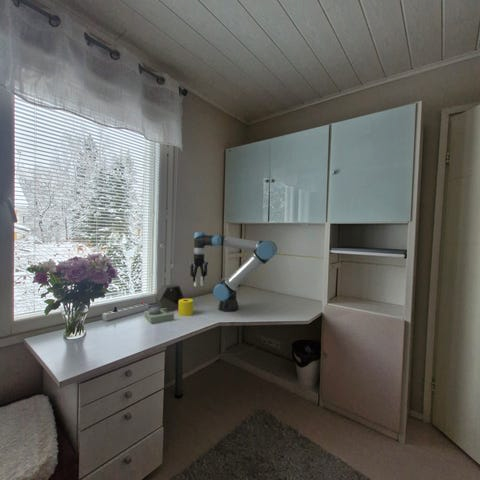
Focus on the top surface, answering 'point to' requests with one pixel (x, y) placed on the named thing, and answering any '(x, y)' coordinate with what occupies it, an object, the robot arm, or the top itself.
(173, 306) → the planter
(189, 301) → the yellow cylinder with hole
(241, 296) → the top surface
